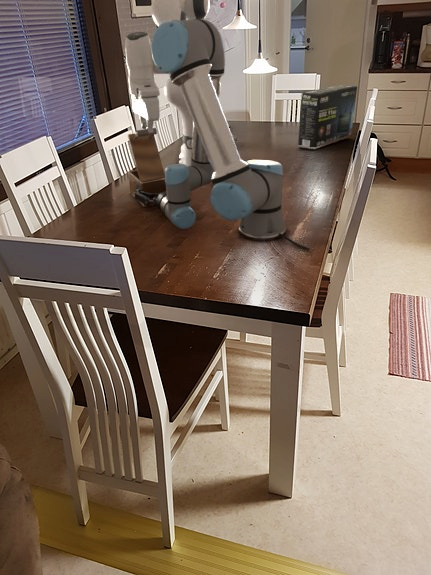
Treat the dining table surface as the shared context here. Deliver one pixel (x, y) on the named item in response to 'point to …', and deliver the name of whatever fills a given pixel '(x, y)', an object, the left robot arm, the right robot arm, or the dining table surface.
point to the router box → (326, 115)
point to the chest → (146, 185)
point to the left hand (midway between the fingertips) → (147, 130)
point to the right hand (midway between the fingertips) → (150, 186)
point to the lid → (146, 155)
